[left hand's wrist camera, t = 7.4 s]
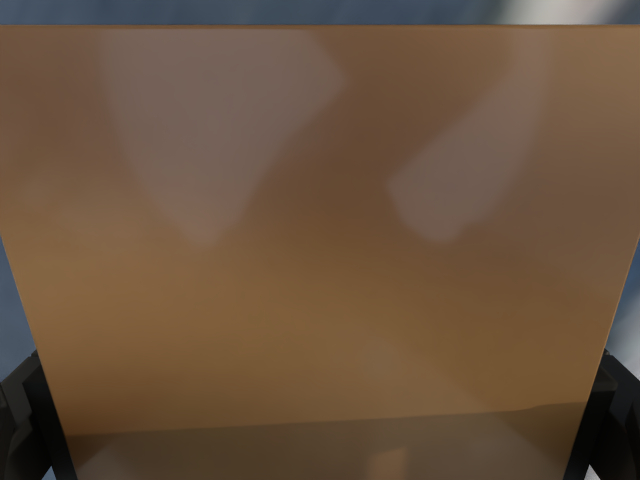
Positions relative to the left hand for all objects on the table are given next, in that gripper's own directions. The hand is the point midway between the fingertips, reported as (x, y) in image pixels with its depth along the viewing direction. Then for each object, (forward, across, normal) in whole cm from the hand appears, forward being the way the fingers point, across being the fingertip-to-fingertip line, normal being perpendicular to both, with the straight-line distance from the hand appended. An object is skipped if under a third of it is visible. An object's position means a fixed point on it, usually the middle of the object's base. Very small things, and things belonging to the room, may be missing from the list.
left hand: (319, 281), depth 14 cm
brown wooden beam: (0, 0, -23) cm, 23 cm away
